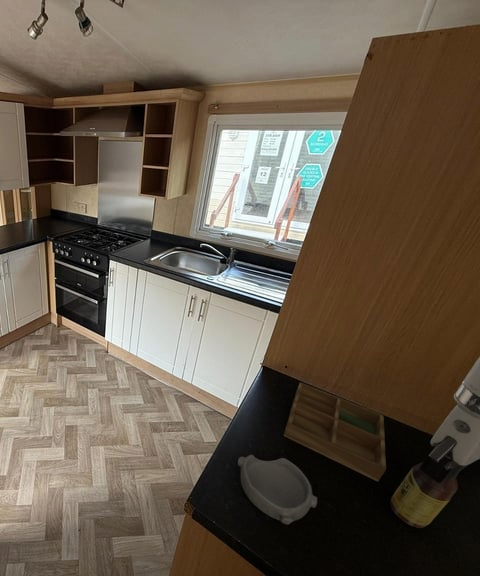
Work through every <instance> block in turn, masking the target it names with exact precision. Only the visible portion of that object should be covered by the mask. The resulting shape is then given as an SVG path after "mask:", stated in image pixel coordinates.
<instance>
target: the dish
mask: <svg viewBox="0 0 480 576" xmlns="http://www.w3.org/2000/svg"><path fill="white" fill-rule="evenodd" d="M237 459H238V460H237V466H238V467H240V473H239V474H240V478H239V479H240V483H241V487H242V489H243V492H244V493H245V495H246V497H247V498H248V500H249V501H250V502H251V503H252V504H253V505H254V506H255V507H256V508H257V509H259V510H260V511H261V512H262V513H264V514H265V515H267V516H269V517H270V518H272V519H274V520H277V521H280V522H281V523H282V524H284V525H287V526H288V525H291V523H294V522H296V521H298V520H301V519H302V518H303V517H305V516H306V515H307V514H308V512H309V511H310V508H313V509H315V508H316V507H317V504H318V497H317V496H315V495H313V489H312V485H311V483H310V481H309V479H308V478H307V476H306V475H305V473H303V471H302V470H301V469H300V468H299V466H297V465H296V464H294V463H293V462H291V461H290V460H288V459H287V458H285V457H280V458H278V459H275V460H262V459H258V458H257V457H255V455H254V454H249V455H247V456H246V457H244V456H240V457H238V458H237Z"/></svg>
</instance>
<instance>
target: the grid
mask: <svg viewBox="0 0 480 576" xmlns="http://www.w3.org/2000/svg"><path fill="white" fill-rule="evenodd" d="M294 397H295V398H293V401H292V404H291V408H290V411H289V412H290V413H289V416H288V419H287V422H286V425H285V429H284V432H283V437H285V438H286V439H289V440H291V441H293V442H296V443H297V444H300V445H301V446H304V447H305V448H308V449H309V450H311V451H314V452H316V453H318V454H320V455H322V456H324V457H326V458H328V459H330V460H332V461H334V462H337V463H339V464H340V465H342V466H345V467H346V468H349V469H351V470H353V471H354V472H357V473H359V474H361V475H364V476H365V477H367V478H370V479H371V480H373V481H376V482H379V481H380V480H381V478H382V477H383V476H384V474H385V472H386V470H387V462H386V458H387V457H386V441H385V440H386V439H385V438H386V437H385V419H384V414H383V413H380V412H377V411H376V410H372V409H370V408H368V407H365V406H362V405H360V404H357V403H355V402H352V401H350V400H347V399H344V398H342V397H339V396H337V395H334V394H331V393H330V392H327V391H324V390H322V389H319V388H316V387H314V386H312V385H308V384H306V383H304V382H301V381H300V382H299V384H298V386H297V389H296V391H295V395H294Z"/></svg>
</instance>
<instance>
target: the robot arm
mask: <svg viewBox="0 0 480 576" xmlns="http://www.w3.org/2000/svg"><path fill="white" fill-rule="evenodd" d="M453 399H454V401H455V403H457V404H456V405H455V406H454V408H453V409H452V410H451V411H450V412H449V414H448V415H447V416H446V418H445V419H443V422H442V423H441V424H440V425H439V427H438V428H437V430H436V431H435V433H434V434H433V436H432V438H431V440H430V443H429V444H430V446H431V447H434V448H433V450H431V452H430V453H429V454H428V455H427V457H426V458H425V459H424V460H423V461H422V462H423V464H422V465H421V466H420V470H421V471H423V472H424V473H425V474H427V475H428V476H429V477H431V478H432V479H433V480H435V481H436V482H438V483H442V482H443V481H444V479H445V478H446V477H447V476H448V474H449V473H450V472H451V470H452V469H450V467H451V466H452V465H453V464H454V463H455V462H457V463H458V464H459V465H463V466H465V465H467V466H468V465H471V464H472V463H475V462H476V461H478V460H480V356H479V357H478V358H477V359H476V361H475V362H474V364H473V365H472V367H471V369H470V370H469V371H468V373H467V374H466V376H465V377H464V378H463V381H462V382H461V383H460V385H459V386H458V387H457V389H456V391H455V393H454V394H453ZM451 451H453V453H452V452H451ZM446 455H447V456H448V457H450V459H449V460H448V462H447V460H445V459H444V457H445V456H446ZM462 470H463V469H461V471H462Z"/></svg>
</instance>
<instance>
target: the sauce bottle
mask: <svg viewBox="0 0 480 576" xmlns="http://www.w3.org/2000/svg"><path fill="white" fill-rule="evenodd" d="M451 452H452V453H453V451H451ZM444 459H445V460H447V462H448V460H449V459H450V457H448V456H447V455H446V456H445V457H444ZM423 462H424V461H422V462H419V463H417V464H415V465H413V466H412V467H411V469H410V470H409V472H407V474H406V476H404V478H403V480H402V481H401V482H400V483H399V486H398V487H397V488H396V490H395V491H394V493H393V494H392V496H391V498H390V501H389V502H390V507H391V511H392V512H393V513H394V514H395V515H396V516H397V517H398V518H399V520H401V521H402V522H404V523H405V524H406V525H409V526H411V527H413V528H417V529H423V528H425V527H428V526H429V525H430V524H431V523H432V522H433V520H435V518H436V517H437V516H438V515H439V514H440V512H441V511H442V510H443V509H444V508H445V507H446V505H447V504H448V503H449V502H450V501H451V500H452V497H453V496H454V495H455V494H456V493H457V491H458V489H459V482H458V479H457V477H458V476H459V473H460V472H461V471H462V470H463V469H465V468H467V466H468V465H465V466H463V465H459V464H458V463H457V462H455V463H454V464H453V465H452V466H451V467H450V469H452V470H451V472H450V473H449V474H448V476H447V477H446V478H445V479H444V481H443V482H442V483H438V482H436V481H435V480H433V479H432V478H431V477H429V476H428V475H427V474H425V473H424V472H423V471H421V470H420V466H421V465H422V464H423ZM461 469H462V470H461Z"/></svg>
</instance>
